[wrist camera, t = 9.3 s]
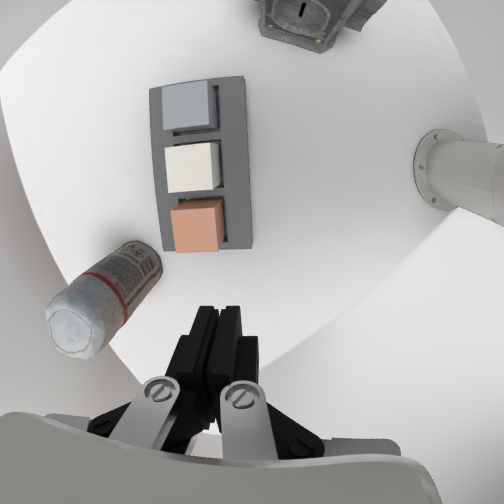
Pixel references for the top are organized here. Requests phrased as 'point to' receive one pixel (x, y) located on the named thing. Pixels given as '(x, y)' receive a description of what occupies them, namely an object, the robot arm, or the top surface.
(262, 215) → the top surface
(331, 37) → the figurine
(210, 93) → the slate key
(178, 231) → the terracotta key
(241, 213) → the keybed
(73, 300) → the spray can
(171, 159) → the ivory key
